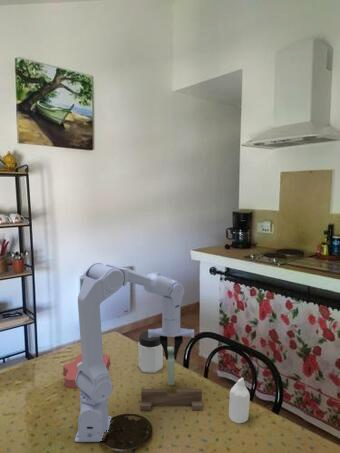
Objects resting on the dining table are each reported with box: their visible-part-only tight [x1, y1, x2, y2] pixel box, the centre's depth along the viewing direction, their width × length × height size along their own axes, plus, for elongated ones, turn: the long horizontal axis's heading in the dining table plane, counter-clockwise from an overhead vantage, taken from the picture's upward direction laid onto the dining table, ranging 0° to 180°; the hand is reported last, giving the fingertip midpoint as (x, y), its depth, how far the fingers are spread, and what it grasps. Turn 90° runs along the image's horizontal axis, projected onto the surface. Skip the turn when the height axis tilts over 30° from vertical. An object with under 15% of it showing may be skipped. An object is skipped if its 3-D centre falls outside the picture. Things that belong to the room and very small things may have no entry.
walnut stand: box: [140, 388, 204, 412], centre depth 102 cm, size 6×18×4 cm, turn 91°
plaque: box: [62, 353, 111, 389], centre depth 119 cm, size 18×4×15 cm
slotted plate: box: [166, 346, 176, 386], centre depth 109 cm, size 10×2×8 cm, turn 1°
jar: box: [137, 330, 164, 374], centre depth 123 cm, size 9×8×12 cm
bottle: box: [228, 377, 251, 424], centre depth 96 cm, size 6×12×6 cm
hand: (170, 358), depth 109 cm, fingers closed on slotted plate, 2 cm apart
